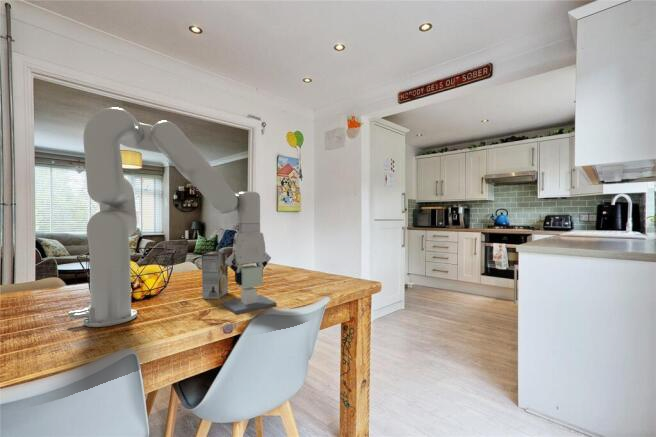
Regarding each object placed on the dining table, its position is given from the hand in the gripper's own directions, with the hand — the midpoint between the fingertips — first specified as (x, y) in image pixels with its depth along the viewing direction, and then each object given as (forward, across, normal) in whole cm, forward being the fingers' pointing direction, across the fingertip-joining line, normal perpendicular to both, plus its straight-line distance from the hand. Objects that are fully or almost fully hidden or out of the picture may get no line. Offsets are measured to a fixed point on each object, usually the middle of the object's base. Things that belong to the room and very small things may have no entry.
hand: (249, 282), depth 101 cm
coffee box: (+8, -5, +19) cm, 21 cm away
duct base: (+8, 0, 0) cm, 8 cm away
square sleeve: (+1, 0, 0) cm, 1 cm away
